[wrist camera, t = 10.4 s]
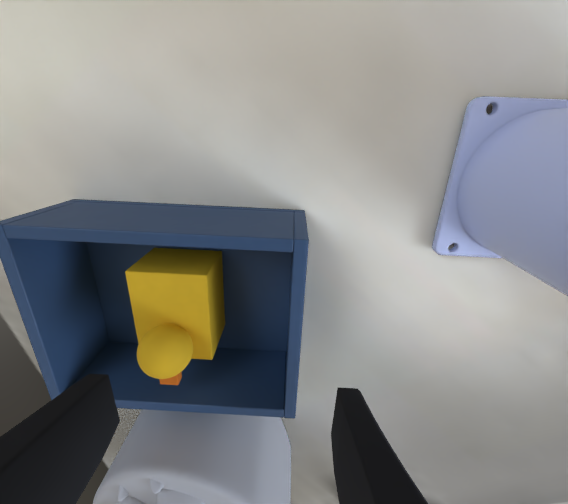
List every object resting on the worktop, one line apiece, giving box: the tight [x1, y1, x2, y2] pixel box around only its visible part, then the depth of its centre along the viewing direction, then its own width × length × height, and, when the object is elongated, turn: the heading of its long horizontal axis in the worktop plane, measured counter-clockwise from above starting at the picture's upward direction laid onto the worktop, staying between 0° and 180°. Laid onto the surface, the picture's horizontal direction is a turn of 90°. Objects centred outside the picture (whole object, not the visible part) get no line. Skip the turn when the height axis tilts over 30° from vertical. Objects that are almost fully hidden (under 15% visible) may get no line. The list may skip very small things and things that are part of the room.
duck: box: [125, 248, 225, 385], centre depth 15 cm, size 4×6×6 cm
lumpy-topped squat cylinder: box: [93, 409, 291, 504], centre depth 19 cm, size 10×13×9 cm
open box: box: [0, 199, 309, 418], centre depth 16 cm, size 13×10×5 cm
